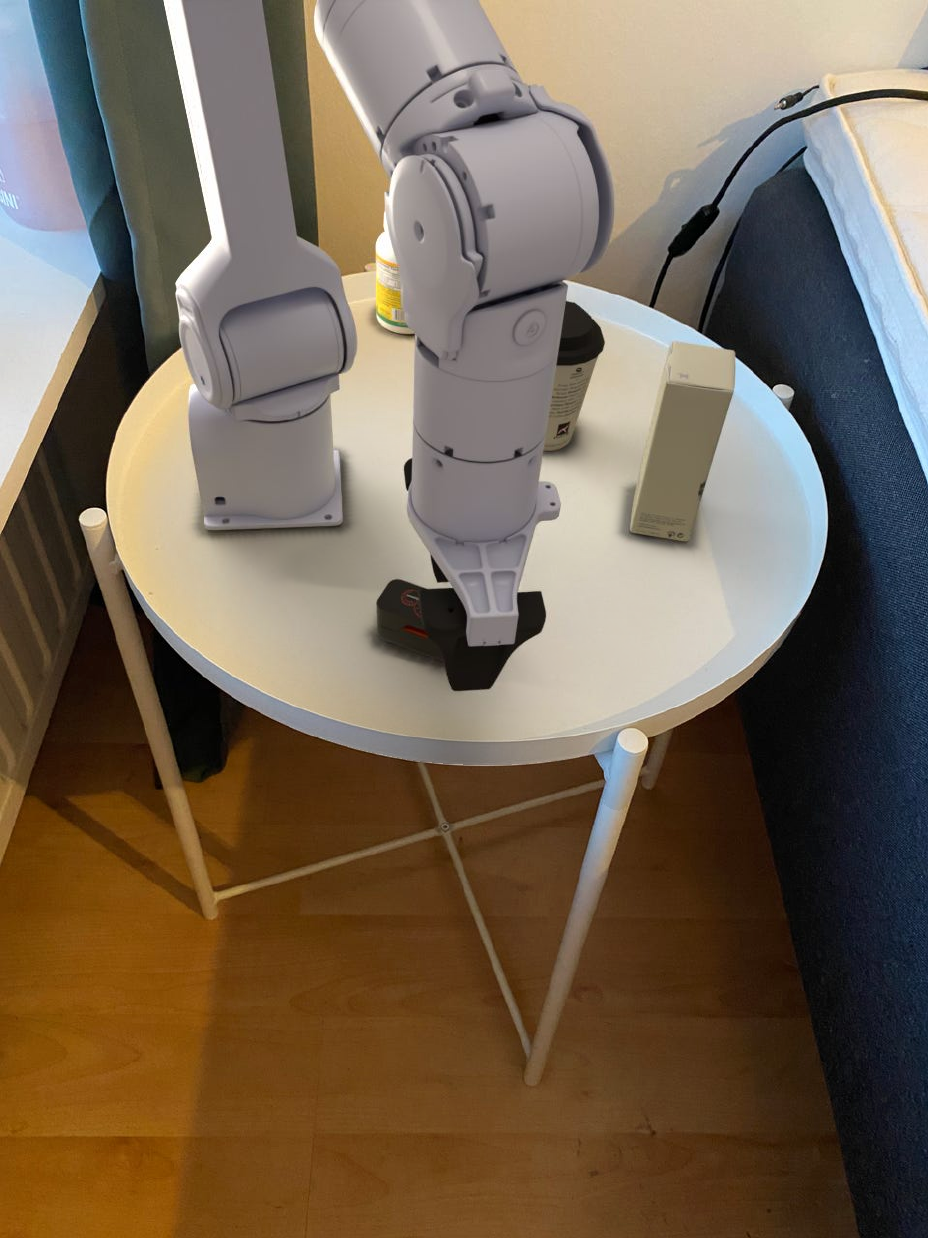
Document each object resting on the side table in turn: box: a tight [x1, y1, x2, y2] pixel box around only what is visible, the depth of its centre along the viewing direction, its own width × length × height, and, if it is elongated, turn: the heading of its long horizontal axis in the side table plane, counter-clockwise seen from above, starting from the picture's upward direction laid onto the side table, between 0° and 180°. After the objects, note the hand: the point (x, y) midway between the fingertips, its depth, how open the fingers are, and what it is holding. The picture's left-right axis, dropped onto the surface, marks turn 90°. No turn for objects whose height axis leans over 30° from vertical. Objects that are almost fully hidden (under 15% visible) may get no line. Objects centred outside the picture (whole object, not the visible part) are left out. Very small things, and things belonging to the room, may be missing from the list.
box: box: [629, 340, 736, 542], centre depth 66 cm, size 5×4×13 cm
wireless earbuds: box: [376, 578, 444, 663], centre depth 61 cm, size 5×7×3 cm, turn 67°
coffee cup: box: [543, 300, 606, 452], centre depth 73 cm, size 7×7×10 cm
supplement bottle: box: [375, 211, 415, 335], centre depth 82 cm, size 5×5×10 cm
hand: (462, 628), depth 51 cm, fingers open, 7 cm apart
